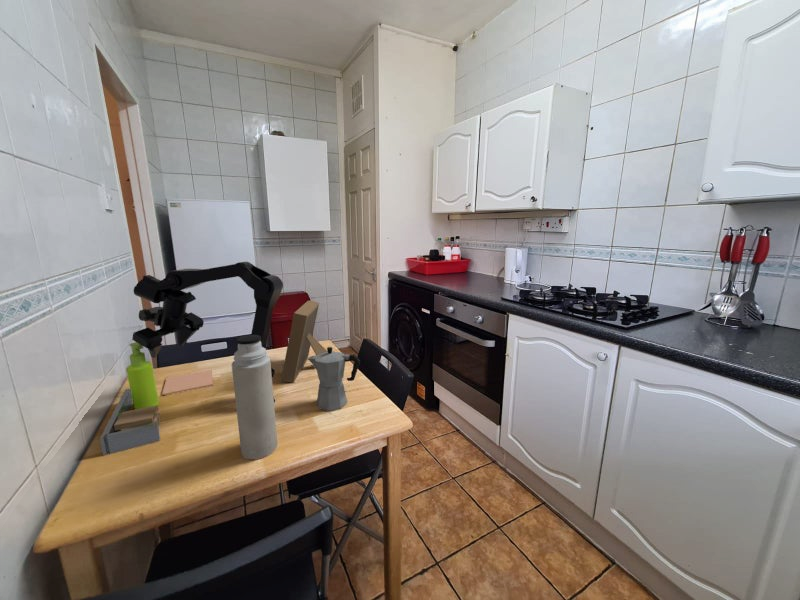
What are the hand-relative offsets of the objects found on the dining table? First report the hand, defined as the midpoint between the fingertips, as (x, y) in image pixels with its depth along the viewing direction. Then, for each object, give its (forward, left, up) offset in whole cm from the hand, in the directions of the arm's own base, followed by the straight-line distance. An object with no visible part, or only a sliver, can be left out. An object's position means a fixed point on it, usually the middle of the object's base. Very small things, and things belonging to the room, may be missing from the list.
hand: (167, 351), depth 100 cm
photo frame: (-3, -43, -15) cm, 46 cm away
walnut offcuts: (-18, +6, -15) cm, 24 cm away
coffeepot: (-32, -43, -15) cm, 55 cm away
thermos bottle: (-43, -20, -15) cm, 49 cm away
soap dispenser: (-5, +6, -15) cm, 17 cm away
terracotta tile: (+8, -4, -15) cm, 17 cm away
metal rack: (-13, +6, -15) cm, 21 cm away
